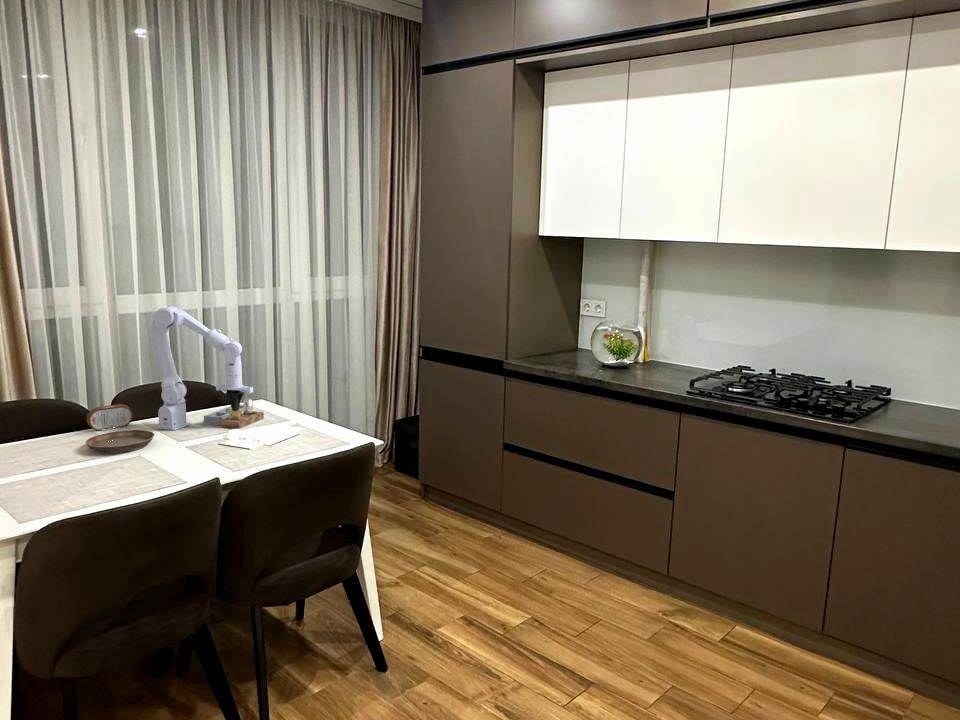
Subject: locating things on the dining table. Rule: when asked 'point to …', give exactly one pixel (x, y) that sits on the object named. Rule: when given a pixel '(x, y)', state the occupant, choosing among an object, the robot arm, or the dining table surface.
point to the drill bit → (248, 407)
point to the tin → (109, 416)
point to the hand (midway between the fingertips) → (235, 410)
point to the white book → (260, 436)
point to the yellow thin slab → (235, 414)
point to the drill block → (241, 420)
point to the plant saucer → (120, 441)
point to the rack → (219, 415)
